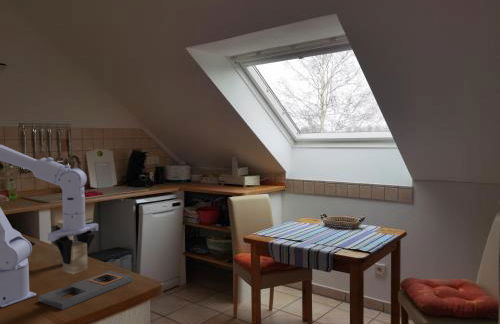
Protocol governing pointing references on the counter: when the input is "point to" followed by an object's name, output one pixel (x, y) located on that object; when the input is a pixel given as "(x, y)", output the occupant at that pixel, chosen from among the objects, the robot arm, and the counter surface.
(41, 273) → the counter surface
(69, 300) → the grey board with holes
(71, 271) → the peg
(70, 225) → the robot arm
